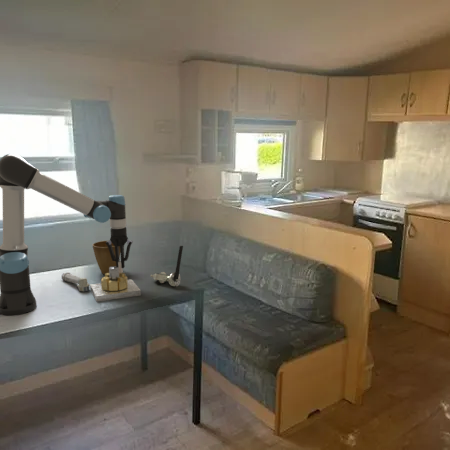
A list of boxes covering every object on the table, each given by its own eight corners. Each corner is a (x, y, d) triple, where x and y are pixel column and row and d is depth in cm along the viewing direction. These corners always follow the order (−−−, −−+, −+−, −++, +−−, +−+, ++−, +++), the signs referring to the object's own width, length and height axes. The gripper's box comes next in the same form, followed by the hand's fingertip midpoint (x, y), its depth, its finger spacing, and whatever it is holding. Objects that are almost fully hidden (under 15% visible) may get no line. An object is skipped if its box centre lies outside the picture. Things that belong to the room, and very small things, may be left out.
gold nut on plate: (96, 301, 204) (94, 275, 202) (90, 289, 220) (88, 265, 218) (140, 295, 212) (139, 270, 210) (131, 284, 228) (130, 260, 226)
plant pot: (98, 268, 255) (96, 240, 252) (125, 268, 255) (123, 240, 252) (90, 276, 241) (88, 246, 238) (118, 276, 241) (117, 246, 238)
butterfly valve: (147, 281, 231) (169, 285, 219) (153, 242, 233) (176, 244, 222) (160, 283, 238) (182, 287, 226) (166, 244, 240) (189, 247, 228)
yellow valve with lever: (126, 290, 211) (125, 278, 210) (100, 291, 210) (99, 279, 208) (129, 277, 230) (129, 266, 229) (106, 278, 229) (105, 267, 228)
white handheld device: (69, 271, 237) (90, 275, 218) (71, 284, 238) (92, 289, 219) (59, 273, 234) (79, 278, 215) (61, 286, 234) (81, 292, 215)
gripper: (133, 225, 225) (135, 272, 229) (107, 225, 225) (109, 272, 230) (130, 228, 218) (132, 276, 222) (102, 228, 218) (105, 276, 222)
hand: (120, 274), depth 226 cm, fingers closed
